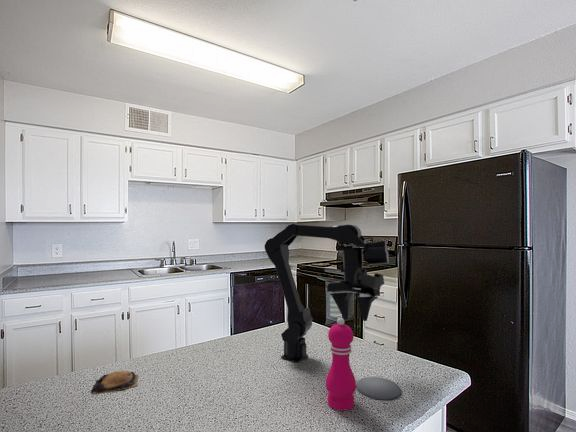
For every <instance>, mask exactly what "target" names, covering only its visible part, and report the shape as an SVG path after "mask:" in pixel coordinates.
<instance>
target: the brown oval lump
mask: <svg viewBox="0 0 576 432" xmlns="http://www.w3.org/2000/svg"><path fill="white" fill-rule="evenodd" d="M138 382H139V374H136V373H135V372H134V371H128V370H121V371H112V372H111V373H110V372H109V373H107V374H103V375H102V376H101V377H100V378H99V379H97V380H96V381H95V383H94V384H93V385H92V388H91V394H92V395H93V394H103V393H109V392H115V391H123V390H126V389H131V388H136V387H138Z"/></svg>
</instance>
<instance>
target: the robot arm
mask: <svg viewBox="0 0 576 432" xmlns="http://www.w3.org/2000/svg"><path fill="white" fill-rule="evenodd" d="M299 236H300V237H311V238H321V239H330V240H332V241H336V242H340V243H341V244H340V245H339V246H337V248H336V249H335V250H336V252H338V253H339V254H342V253H343V254H342V255H343V256H342V257H343V258H342V260H343V268H342V269H340V273H341V274H343V280H334V281H329V282H328V283H327V285H326V292H327V293H329V296H331V297H332V299H333V301H334V303H335V304H336V307H337V308H338V311H339V312H340V314H341V317H342V318H343V319H344V321H348V320H349V312H350V311H349V308H350V307H349V305H350V303H349V302H350V299H351V297H352V295H353V293H354V294H356V295H357V296H356V301H357V305H358V308H359V312H360V315H361V319H362V321H363V322H366V321H368V317H369V313H370V309H371V306H372V303H373V302H374V301H375V300H377V299H378V298H379V297H381V291H380V290H381V288H382V287H383V285H385V279H384V275H383V274H381V273H377V272H376V273H374V275H373V274H369V273H368V270H367V269H366V268H364V262H365V263H367V264H368V266H372V265H373V266H374V265H378V266H379V265H389V262H390V257H389V256H390V255H389V251H388V247H387V243H386V240H380V241H373V242H369V241H368V240H367V239H366V238H365V236H363V235H362V231H361V228H360V227H358V226H357V225H356V224H355V225H354V224H341V225H333V226H332V225H331V226H324V225H323V226H321V225H308V224H298V223H289V224H288V225H287V226H286V227H285V228H284V229H282V230H281V231H280V232H278V233H277V234H276V235H275V236H273V237H272V238H271V237H270V238H268V239H267V240H266V241H265V244H264V251H265V253H266V255H267V256H268V259H269V260H270V262H271V263H272V264H273V265H274V267H275V270H276V273H277V276H278V280H279V283H280V286H281V290H282V294H283V296H284V297H283V298H284V300H285V304H286V307H287V316H286V320H287V321H286V322H287V328H286V329H285V330H284V331H283V332H281V334H280V335H281V339H282V341H283V354H282V355H281V356H280V359H283V360H287V361H291V362H295V363H300V362H301V361H303V360H304V359H306V358H307V357H308V356H309V355H308V353H307V343H306V337H305V336H306V335H307V333H308V332H309V331H310V330H311V328H312V326H313V320H314V318H313V316H312V314H311V309H310V306H309V307H307V308H306V307H305V306H304V305H303V304H302V301H301V298H300V295H299V292H298V289H297V285H296V282H295V279H294V275H293V272H292V269H291V266H290V262H289V261H290V249H289V246H290V245H291V244H292V243H294V241H295V240H296V239H297V237H299ZM344 244H347V245H344ZM350 244H352V245H350ZM355 246H356V247H355ZM363 261H364V262H363Z"/></svg>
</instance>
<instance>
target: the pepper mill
mask: <svg viewBox="0 0 576 432" xmlns="http://www.w3.org/2000/svg"><path fill="white" fill-rule="evenodd" d="M327 337H328V341H329V342H330V345H329V347H330V349H329V351H330V352H331V356H332V357H331V358H332V359H331V365H330V368H329V370H328V372H327V374H326V376H325V377H326V379H325V385H324V386H325V388H326V390H327V392H328V393H327V399H326V400H327V404H328V406H329V407H331V409H334V410H338V411H348V410H351V409H353V408H354V406H355V395H354V393H355V392H356V391H357V387H356V384H357V380H356V377H355V374H354V372H353V370H352V368H351V364H350V363H351V362H350V354H352V345H351V344H352V343H353V341H354V337H355V336H354V332H353V330H352V328H351V327H350V326H349V325H347V324H345V320H344V319H343V317H338V318H337V320H336V324H333V325H332V326H331V327H330V328H329V329H328V334H327Z"/></svg>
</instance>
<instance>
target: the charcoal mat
mask: <svg viewBox="0 0 576 432" xmlns="http://www.w3.org/2000/svg"><path fill="white" fill-rule="evenodd" d="M356 391H358V392H359V393H360V394H361V395H363V396H365V397H368V398H370V399H373V400H374V399H375V400H380V401H389V400H394V399H396V398H398V397H400V395H401V387H400V386H399V384H397V383H396V382H395V381H393V380H390V379H388V378H383V377H378V376H367V377H363V378H360V379H358V380H356Z"/></svg>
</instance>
